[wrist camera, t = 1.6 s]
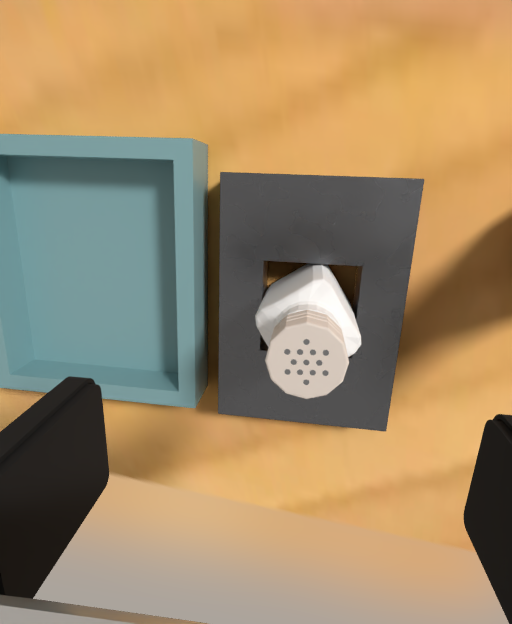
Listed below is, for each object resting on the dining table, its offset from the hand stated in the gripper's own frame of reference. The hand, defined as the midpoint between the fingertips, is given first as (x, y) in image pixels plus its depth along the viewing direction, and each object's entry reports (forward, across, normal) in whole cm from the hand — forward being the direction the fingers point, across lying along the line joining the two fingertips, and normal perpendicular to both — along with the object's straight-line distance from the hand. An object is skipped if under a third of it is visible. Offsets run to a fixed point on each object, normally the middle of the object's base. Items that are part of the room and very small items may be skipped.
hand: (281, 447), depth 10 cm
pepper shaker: (+16, -1, +1) cm, 16 cm away
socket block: (+15, -1, +1) cm, 15 cm away
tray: (+16, +12, 0) cm, 20 cm away
